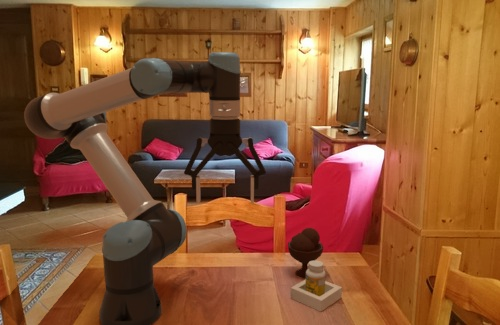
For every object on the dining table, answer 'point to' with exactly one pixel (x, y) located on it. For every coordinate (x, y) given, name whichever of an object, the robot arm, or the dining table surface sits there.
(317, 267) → the supplement bottle
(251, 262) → the dining table surface
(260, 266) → the dining table surface
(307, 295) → the holder
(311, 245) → the ice cream bowl
